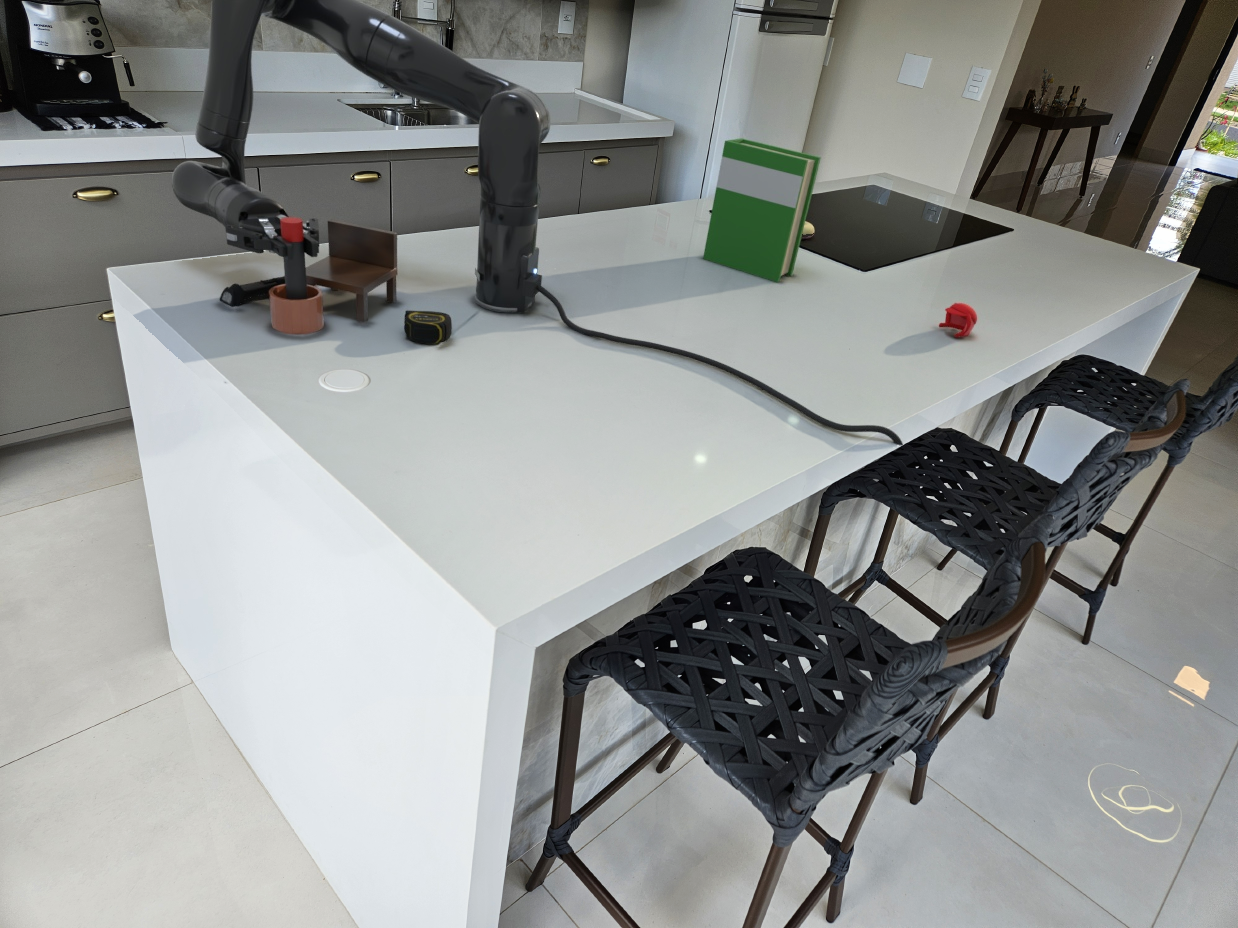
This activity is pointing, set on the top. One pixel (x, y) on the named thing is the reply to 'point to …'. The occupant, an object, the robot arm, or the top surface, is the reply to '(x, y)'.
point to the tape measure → (427, 326)
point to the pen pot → (296, 311)
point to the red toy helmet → (960, 319)
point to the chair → (357, 262)
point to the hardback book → (760, 208)
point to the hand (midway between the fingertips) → (302, 251)
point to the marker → (294, 259)
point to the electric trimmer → (250, 291)
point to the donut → (807, 230)
